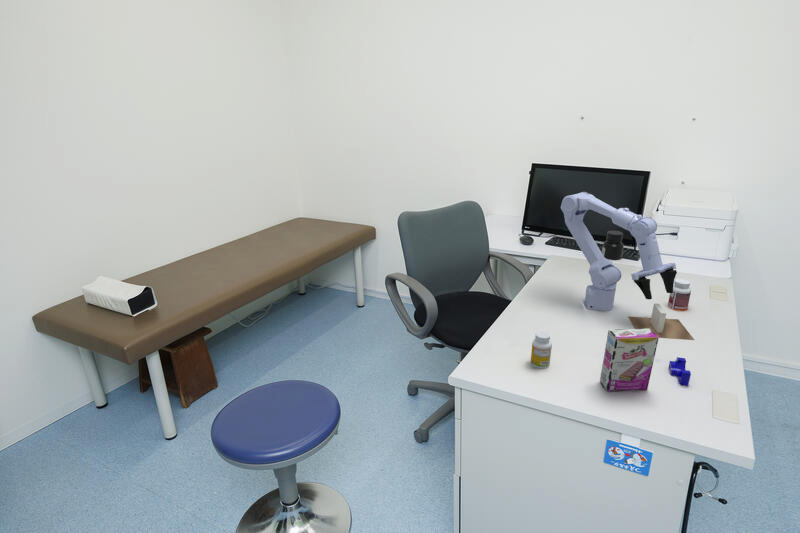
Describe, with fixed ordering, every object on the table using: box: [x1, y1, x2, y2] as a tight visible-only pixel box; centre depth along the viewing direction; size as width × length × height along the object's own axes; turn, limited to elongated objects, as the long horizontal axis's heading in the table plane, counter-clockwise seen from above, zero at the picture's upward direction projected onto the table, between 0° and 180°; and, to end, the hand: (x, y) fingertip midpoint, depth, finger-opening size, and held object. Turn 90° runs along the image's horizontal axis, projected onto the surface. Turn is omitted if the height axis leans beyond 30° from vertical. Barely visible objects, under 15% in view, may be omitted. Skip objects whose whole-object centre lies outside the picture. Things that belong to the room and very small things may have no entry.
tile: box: [650, 302, 667, 333], centre depth 150 cm, size 2×7×7 cm, turn 169°
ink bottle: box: [601, 230, 625, 261], centre depth 215 cm, size 10×9×12 cm
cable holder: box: [668, 356, 692, 387], centre depth 127 cm, size 8×4×4 cm, turn 160°
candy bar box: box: [599, 328, 660, 392], centre depth 121 cm, size 11×5×16 cm, turn 92°
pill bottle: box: [667, 278, 692, 312], centre depth 163 cm, size 6×6×11 cm
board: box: [627, 316, 695, 341], centre depth 151 cm, size 16×14×1 cm
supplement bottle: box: [530, 331, 553, 369], centre depth 133 cm, size 5×5×10 cm
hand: (659, 295), depth 149 cm, fingers open, 7 cm apart
